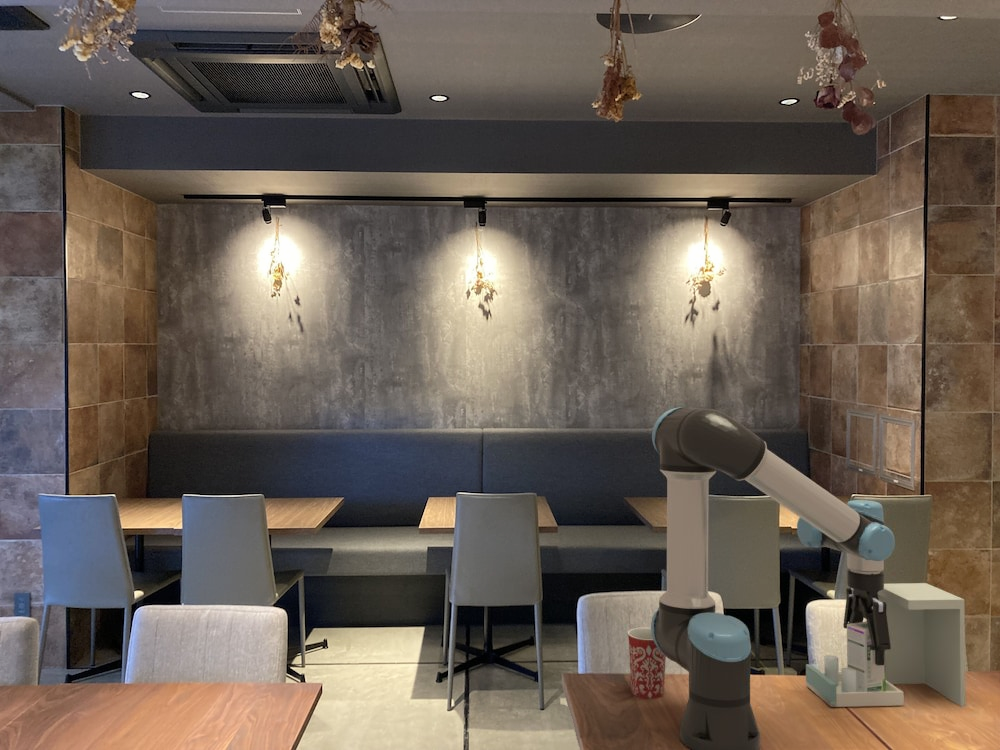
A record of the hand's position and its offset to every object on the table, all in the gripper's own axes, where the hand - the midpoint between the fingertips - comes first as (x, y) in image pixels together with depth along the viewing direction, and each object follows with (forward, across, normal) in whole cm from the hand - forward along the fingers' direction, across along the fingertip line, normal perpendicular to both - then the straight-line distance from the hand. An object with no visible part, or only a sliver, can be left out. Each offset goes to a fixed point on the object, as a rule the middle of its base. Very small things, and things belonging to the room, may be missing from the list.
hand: (866, 670), depth 188 cm
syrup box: (+4, 0, 0) cm, 4 cm away
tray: (+6, 0, +3) cm, 6 cm away
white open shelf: (+6, 0, -12) cm, 13 cm away
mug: (+6, +6, +48) cm, 49 cm away
